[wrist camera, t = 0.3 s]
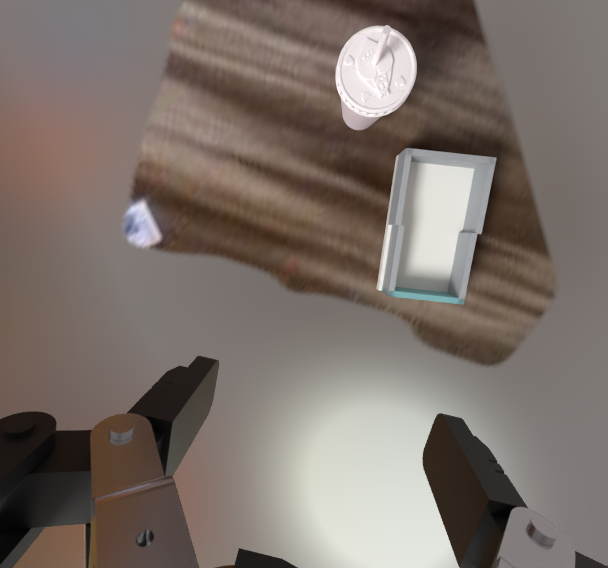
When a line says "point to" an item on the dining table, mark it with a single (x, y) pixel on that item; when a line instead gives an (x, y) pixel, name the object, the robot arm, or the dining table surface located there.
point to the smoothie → (374, 75)
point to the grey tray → (434, 224)
